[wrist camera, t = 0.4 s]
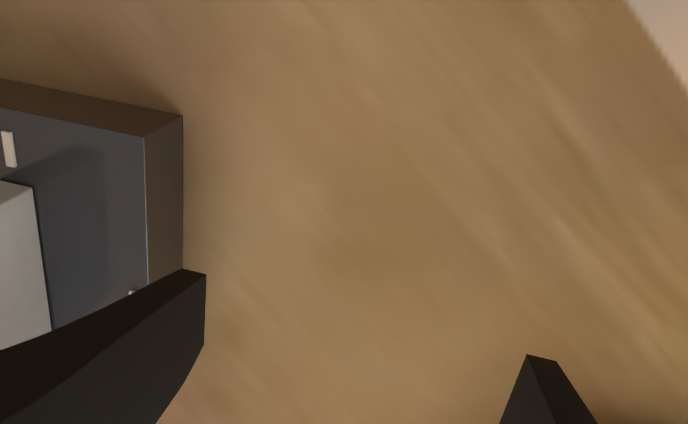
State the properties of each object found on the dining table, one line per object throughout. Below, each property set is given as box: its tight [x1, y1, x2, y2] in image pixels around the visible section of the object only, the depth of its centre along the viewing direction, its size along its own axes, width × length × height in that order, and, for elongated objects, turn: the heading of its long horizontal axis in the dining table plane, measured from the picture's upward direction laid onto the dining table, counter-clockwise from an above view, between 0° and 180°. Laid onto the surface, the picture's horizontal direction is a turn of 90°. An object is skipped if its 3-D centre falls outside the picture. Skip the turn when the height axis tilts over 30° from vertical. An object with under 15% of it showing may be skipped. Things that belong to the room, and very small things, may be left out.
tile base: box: [0, 79, 183, 331], centre depth 24 cm, size 14×12×3 cm
